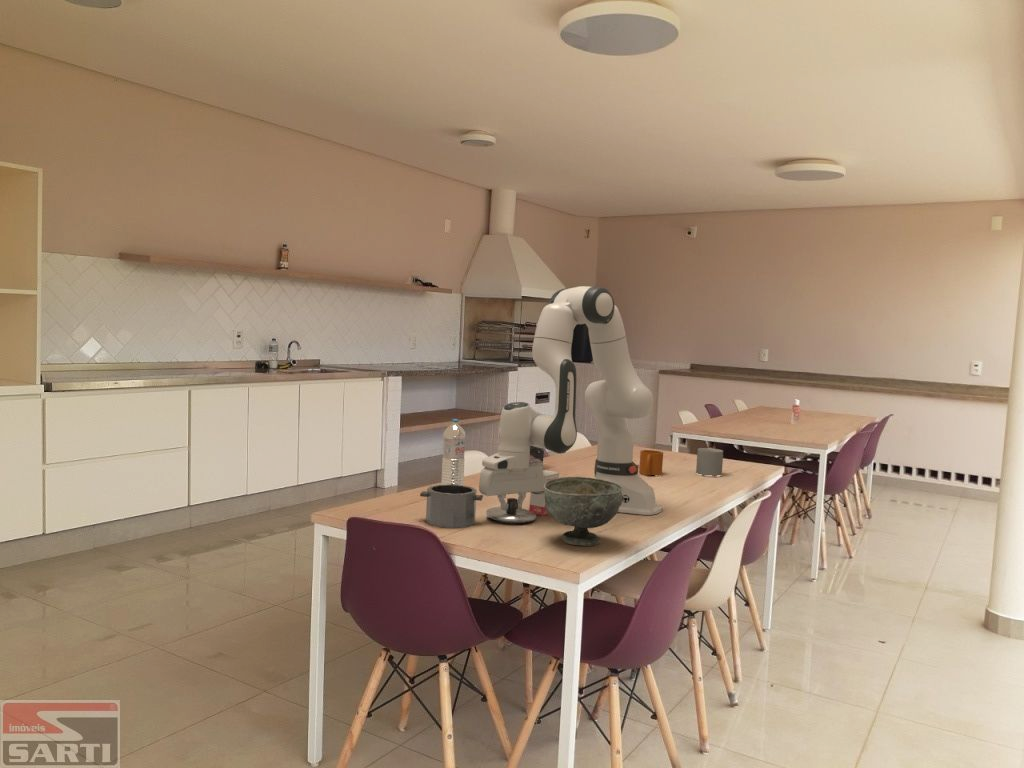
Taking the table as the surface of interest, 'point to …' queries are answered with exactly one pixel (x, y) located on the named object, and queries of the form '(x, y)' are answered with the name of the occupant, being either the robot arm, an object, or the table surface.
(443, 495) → the pot
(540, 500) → the ink box
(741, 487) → the table surface
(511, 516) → the lid
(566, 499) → the bowl
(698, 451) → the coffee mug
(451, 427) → the water bottle
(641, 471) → the mug
